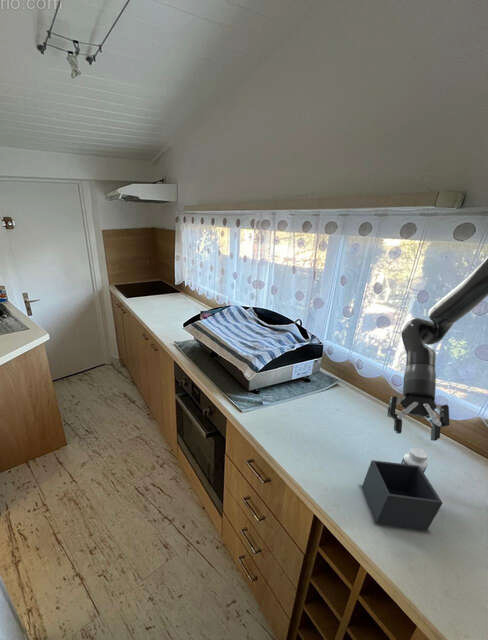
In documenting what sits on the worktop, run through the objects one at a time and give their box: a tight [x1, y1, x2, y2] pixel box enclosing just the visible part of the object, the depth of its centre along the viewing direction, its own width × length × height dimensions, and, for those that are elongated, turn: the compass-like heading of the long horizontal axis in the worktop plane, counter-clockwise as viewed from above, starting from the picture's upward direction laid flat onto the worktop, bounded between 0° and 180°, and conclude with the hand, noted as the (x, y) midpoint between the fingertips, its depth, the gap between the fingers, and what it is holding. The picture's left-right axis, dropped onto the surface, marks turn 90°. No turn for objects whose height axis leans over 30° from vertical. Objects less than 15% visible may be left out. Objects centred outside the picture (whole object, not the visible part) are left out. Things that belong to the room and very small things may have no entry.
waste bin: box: [361, 459, 443, 532], centre depth 76 cm, size 11×11×10 cm
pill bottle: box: [400, 447, 429, 474], centre depth 84 cm, size 5×5×10 cm
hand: (416, 436), depth 86 cm, fingers open, 8 cm apart
